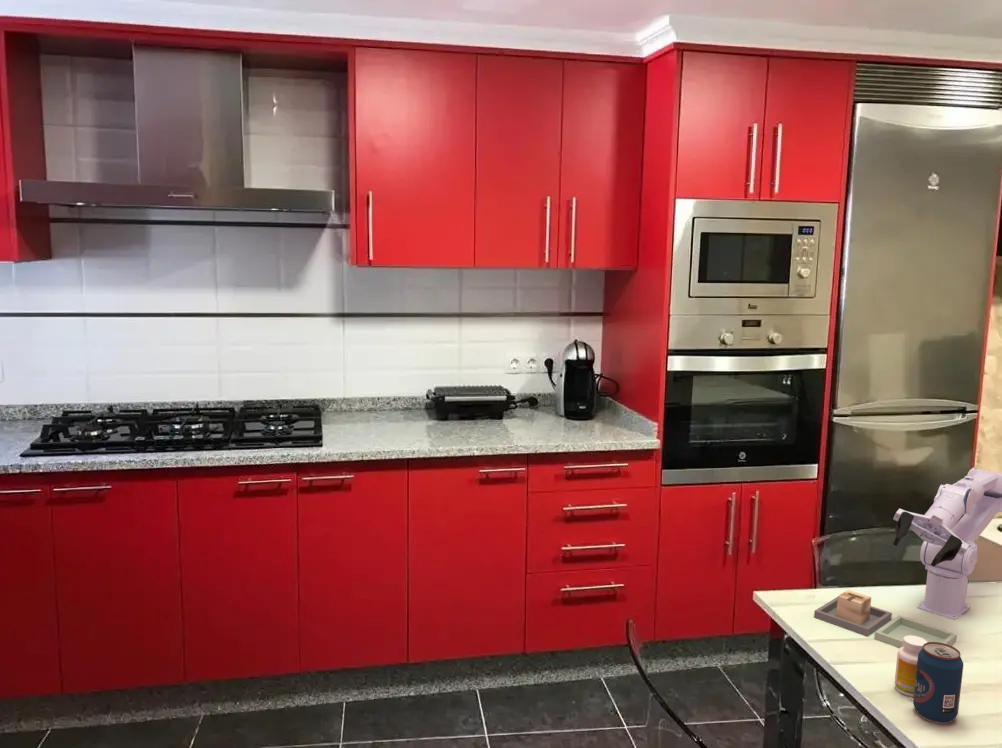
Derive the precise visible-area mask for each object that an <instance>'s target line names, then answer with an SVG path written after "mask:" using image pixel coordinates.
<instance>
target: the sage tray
mask: <svg viewBox="0 0 1002 748" xmlns="http://www.w3.org/2000/svg"><path fill="white" fill-rule="evenodd" d="M909 635H911V636H917V637H921V638H923V639H925V640H926V641H927V642H939V643H944V644H948V645H950V646H953V645H954V644H956V642H957V636H958V634H956V633H954V632H950V631H947V630H945V629H941V628H938V627H936V626H933V625H929V624H927V623H924V622H921V621H918V620H914V619H911V618H909V617H905V616H902V615H899V614H898V615H897V616H895V617H894V618H892V619H891V620H890V621H889V622H887V623H886V624H885V625H883V626H882V627H880V628H879V629H878V630H876V631H875V632H874V637H873V638H874V640H875V641H879V642H881V643H885V644H888V645H890V646H892V647H896V648H899V649H900V648H901V647H903V638H904V637H905V636H909Z"/></svg>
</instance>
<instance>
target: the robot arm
mask: <svg viewBox="0 0 1002 748" xmlns="http://www.w3.org/2000/svg"><path fill="white" fill-rule="evenodd" d="M998 513H1002V472H995V471H992V470H991V471H990V470H985V469H979V468H977V467H972V468H971V469H969V470H968V472H967V475H965V476H964V478H961V479H959V480H957V482H954V483H953V484H949V483H945V484H940V486H939V487H938V490H937V493H936V495H935V496H934V499H933V504H932V505H931V506H930V507H929V509H928V510H927V511H926V512H925V513H924V514H920V513H916V512H911V511H908V510H905V509H902V508H900V507H899V508H898V510H897V511H896V512H895V514H894V516H893V518H892V519H893V520H894V521H896V525H895V528H894V531H895V539H894V541H893V543H892V544H893V545H894V546H896V547H897V546H898V545H899V543H900V542H901V540H902V539H903V538H904V537H906V535H907V534H908V532H909V530H911V531H913V532H914V533H915V534H916V535H917V536H918V537H919V538H920V539H921V540H923V542H922V543H921V547H920V552H919V553H920V555H919V558H920V561H921V563H922V565H924V568H925V569H924V570H927V574H926V582H925V595H924V600H923V601H922V602H921V603H919V604H918V605H916V608H917V609H919V610H921V611H925V612H928V613H931V614H934V615H937V616H941V617H943V618H947V619H950V620H953V621H954V620H957V619H959V617H962V615H963V614H965V613H966V612H967V611H968V610H969V609H970V608H971V606H970V605H968V604H966V603H967V594H968V585H969V579H968V576H969V575H971V574H972V573H973V571H974V569H975V566H976V564H977V561H978V556H979V554H978V553H979V552H978V551H979V550H978V545H977V543H976V541H977V539H978V538H979V537H980V536H981V534H982V533H983V532H984V531H985V530H986V528H987V527H988V526H989V525H990V523H991V522H992V521H993V519H994V518H995V516H997V514H998Z"/></svg>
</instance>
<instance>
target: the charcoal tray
mask: <svg viewBox="0 0 1002 748" xmlns="http://www.w3.org/2000/svg"><path fill="white" fill-rule="evenodd" d="M837 600H838V596H836V597H835V598H833V599H831V600H830V601H828V602H826V603H825V604H822V606H819V607H818V608H817V609H815V610H814V611H813V612H814V613H813V618H815V619H817V620H820V621H823V622H825V623H829V624H831V625H834V626H837V627H840V628H842V629H845V630H847V631H851V632H853V633H857V634H858V635H863V636H865V637H866V638H867V637H869V636H871V635H872V634H873V633H875V632H876V631H877V630H878V629H880V628H881V627H883V626H884V625H886V624H887V623H888V622H890V621H891V620H892V619H893V618H892V617H893V616H892V615H893V613H892V612H891V611H888V610H884V609H881V608H878V607H875V606H872V605H871V606H870V617H869V619H868V620H867V621H865V622H864V623H863V624H861V625H859V624H856V623H853V622H850V621H848V620H845V619H842V618H839V617H836V612H837Z"/></svg>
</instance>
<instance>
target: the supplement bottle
mask: <svg viewBox="0 0 1002 748" xmlns="http://www.w3.org/2000/svg"><path fill="white" fill-rule="evenodd" d="M925 643H927V641H926V640H925V639H923V638H921V637H917V636H911V635H909V636H905V637H904V638H903V647H901V648H899V649H898V651H897V655H896V656H897V657H896V665H895V666H896V667H895V677H894V688H895V690H896V691H898V692H899V693H901V694H902V695H904V696H907V697H911V698H912V697H913V698H914V689H915V679H916V670H917V660H918V653H919V652H920V651H921V649H922V648H923V645H924V644H925Z"/></svg>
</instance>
